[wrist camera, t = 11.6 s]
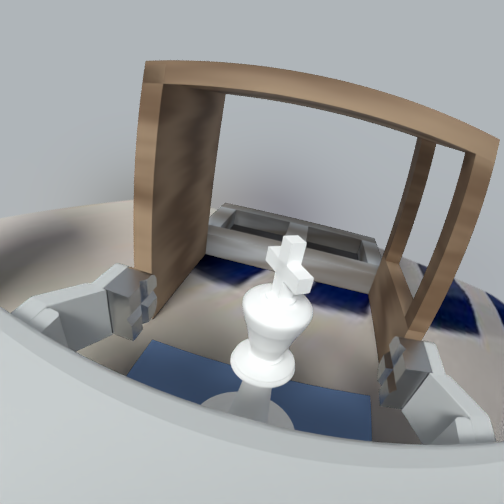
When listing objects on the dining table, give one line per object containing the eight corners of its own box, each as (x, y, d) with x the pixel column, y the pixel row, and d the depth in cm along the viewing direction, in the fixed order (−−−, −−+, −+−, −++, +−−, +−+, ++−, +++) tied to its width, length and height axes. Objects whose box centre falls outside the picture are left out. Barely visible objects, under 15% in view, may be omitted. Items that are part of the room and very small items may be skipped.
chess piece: (207, 497, 9) (236, 315, 5) (175, 407, 13) (177, 204, 9) (311, 464, 11) (425, 282, 7) (267, 389, 15) (319, 206, 11)
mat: (364, 544, 7) (367, 542, 7) (71, 462, 9) (69, 459, 9) (367, 398, 15) (370, 395, 15) (152, 343, 17) (152, 339, 17)
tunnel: (396, 379, 17) (499, 139, 10) (137, 313, 19) (145, 61, 12) (369, 254, 34) (405, 124, 27) (223, 218, 36) (242, 87, 29)
